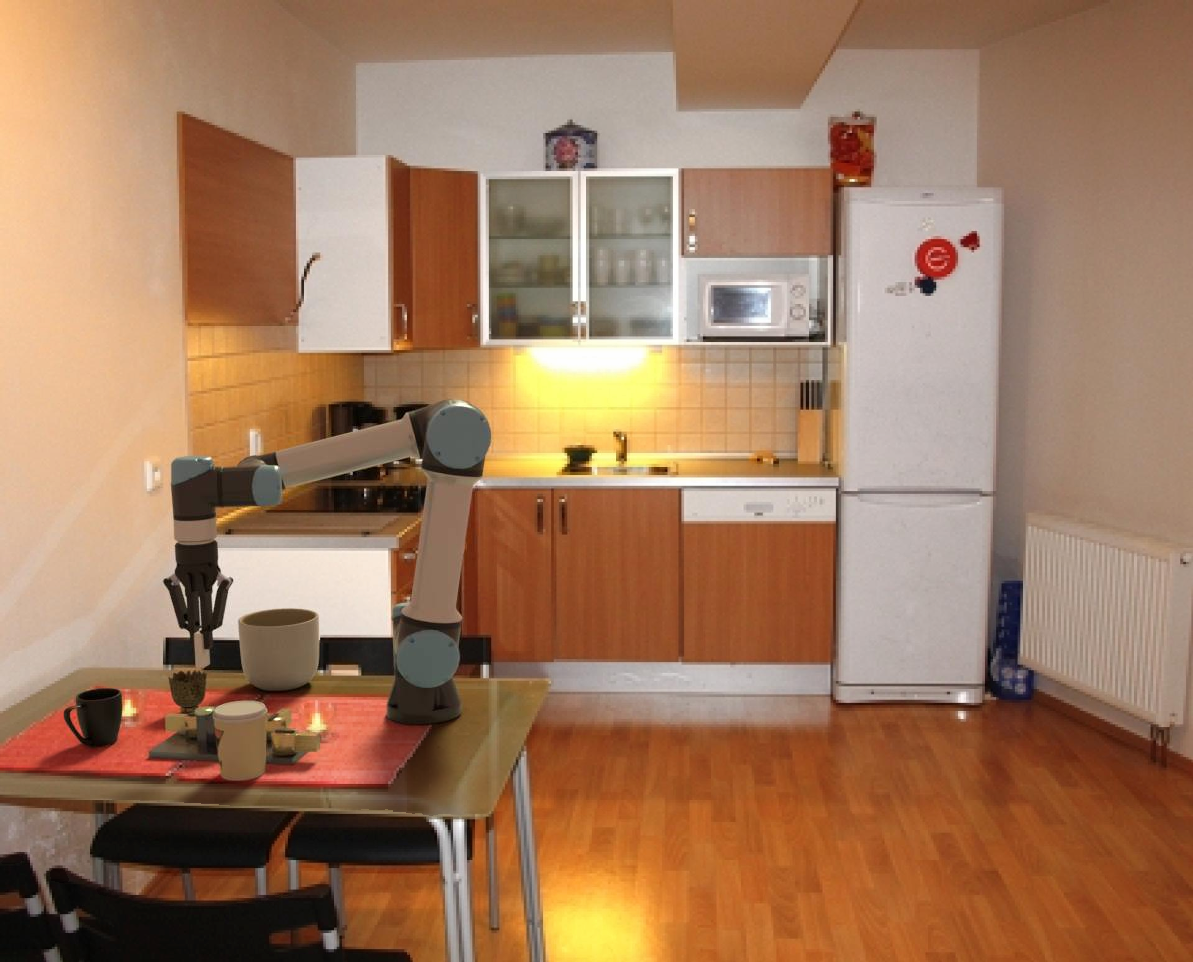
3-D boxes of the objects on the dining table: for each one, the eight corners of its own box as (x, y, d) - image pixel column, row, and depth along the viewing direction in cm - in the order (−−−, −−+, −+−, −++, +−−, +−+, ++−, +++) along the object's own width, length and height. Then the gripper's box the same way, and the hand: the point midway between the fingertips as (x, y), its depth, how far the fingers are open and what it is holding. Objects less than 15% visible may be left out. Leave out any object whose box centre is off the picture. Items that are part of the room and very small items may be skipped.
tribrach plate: (321, 739, 251) (319, 698, 250) (292, 764, 238) (290, 722, 237) (184, 732, 256) (182, 693, 255) (149, 757, 242) (146, 715, 241)
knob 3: (267, 754, 239) (266, 733, 238) (278, 745, 244) (277, 725, 243) (313, 756, 237) (312, 736, 237) (323, 747, 242) (322, 727, 242)
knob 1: (217, 729, 253) (216, 709, 252) (205, 738, 248) (204, 718, 248) (174, 727, 254) (173, 708, 254) (161, 736, 250) (160, 716, 249)
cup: (197, 719, 264) (195, 680, 263) (163, 717, 266) (161, 679, 265) (215, 707, 271) (213, 670, 270) (182, 706, 273) (180, 668, 272)
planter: (299, 669, 299) (297, 604, 297) (335, 686, 286) (332, 618, 284) (228, 683, 288) (225, 616, 286) (261, 701, 275) (258, 631, 273)
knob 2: (281, 740, 246) (280, 720, 246) (256, 739, 247) (255, 719, 246) (299, 725, 255) (298, 706, 254) (275, 724, 256) (274, 705, 255)
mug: (52, 751, 246) (49, 702, 245) (104, 732, 257) (101, 685, 255) (82, 758, 242) (78, 708, 241) (133, 739, 253) (130, 691, 251)
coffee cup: (222, 764, 238) (218, 700, 237) (274, 762, 239) (271, 699, 237) (210, 783, 229) (207, 717, 227) (265, 781, 230) (261, 715, 228)
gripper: (238, 537, 243) (244, 661, 246) (172, 536, 245) (179, 659, 248) (220, 545, 235) (227, 672, 239) (152, 543, 238) (160, 670, 241)
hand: (202, 665), depth 243 cm, fingers closed
